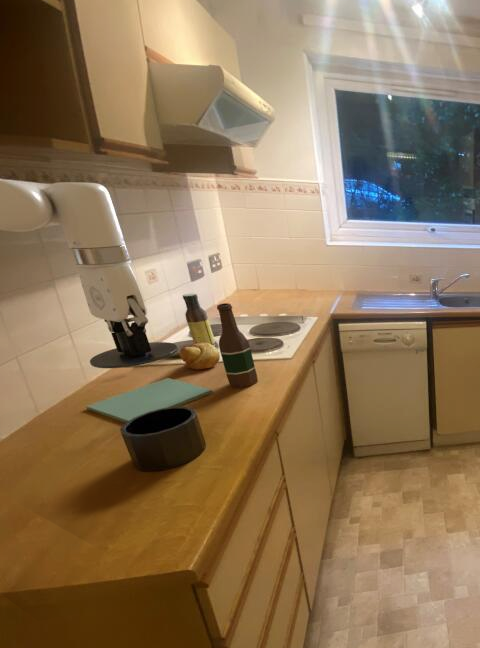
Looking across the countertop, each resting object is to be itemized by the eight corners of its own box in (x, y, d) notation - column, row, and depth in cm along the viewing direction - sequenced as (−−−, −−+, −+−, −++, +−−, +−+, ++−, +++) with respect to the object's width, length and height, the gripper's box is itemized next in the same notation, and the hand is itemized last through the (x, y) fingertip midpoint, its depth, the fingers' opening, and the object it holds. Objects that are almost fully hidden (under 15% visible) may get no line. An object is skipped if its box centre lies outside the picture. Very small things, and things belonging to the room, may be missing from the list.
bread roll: (192, 359, 146) (186, 337, 143) (226, 356, 149) (220, 333, 146) (182, 373, 135) (175, 349, 132) (218, 369, 138) (212, 345, 135)
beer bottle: (238, 391, 124) (217, 309, 115) (223, 385, 127) (201, 305, 118) (264, 381, 130) (246, 303, 121) (248, 376, 134) (230, 299, 124)
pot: (157, 478, 87) (144, 441, 83) (120, 463, 91) (106, 428, 88) (218, 446, 97) (208, 413, 94) (183, 434, 102) (172, 402, 99)
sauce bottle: (208, 344, 160) (193, 291, 152) (220, 346, 158) (206, 292, 150) (191, 350, 154) (174, 295, 147) (203, 352, 152) (187, 296, 145)
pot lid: (117, 376, 77) (106, 346, 75) (76, 364, 82) (64, 336, 80) (193, 352, 89) (186, 325, 87) (153, 343, 94) (145, 318, 92)
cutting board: (132, 425, 106) (131, 421, 105) (87, 409, 113) (85, 406, 113) (213, 392, 123) (212, 389, 122) (168, 380, 130) (167, 377, 130)
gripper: (50, 256, 78) (88, 351, 85) (103, 262, 72) (138, 365, 79) (101, 251, 84) (131, 340, 91) (153, 256, 78) (181, 352, 85)
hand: (134, 350), depth 85 cm, fingers closed on pot lid, 3 cm apart
